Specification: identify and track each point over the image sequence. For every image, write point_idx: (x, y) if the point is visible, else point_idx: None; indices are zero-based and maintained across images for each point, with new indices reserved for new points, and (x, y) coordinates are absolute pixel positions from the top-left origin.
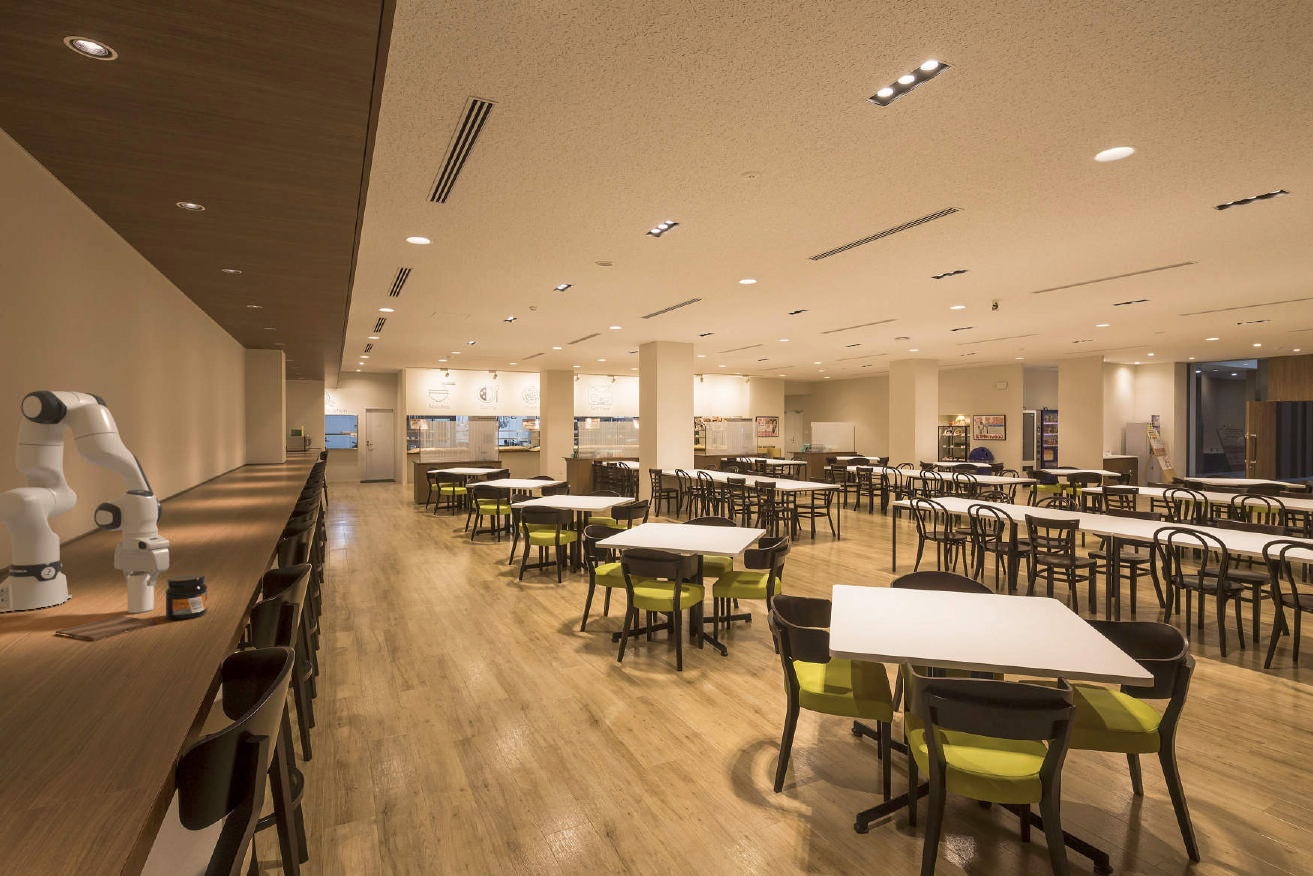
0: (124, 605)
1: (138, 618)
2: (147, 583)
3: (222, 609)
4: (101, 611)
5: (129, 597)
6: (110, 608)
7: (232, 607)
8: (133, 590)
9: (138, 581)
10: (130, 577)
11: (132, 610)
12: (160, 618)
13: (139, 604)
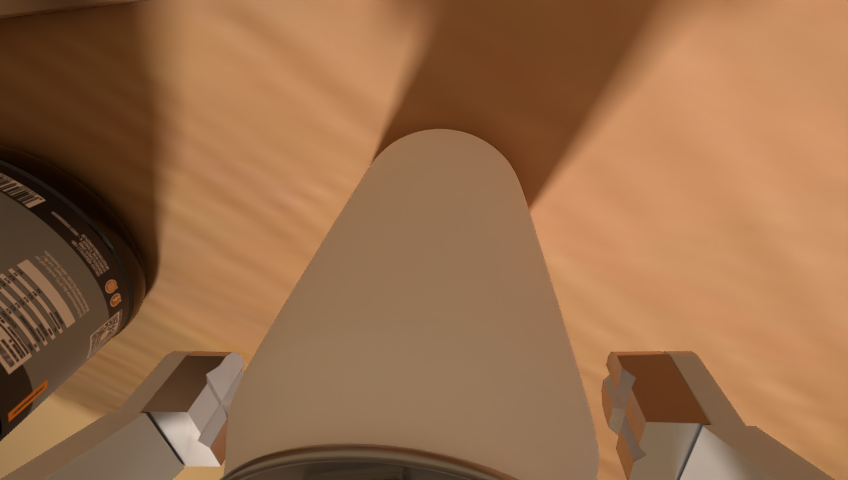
0: (738, 250)
1: (56, 4)
2: (203, 376)
3: (83, 368)
4: (782, 60)
5: (421, 176)
6: (784, 157)
7: (94, 397)
8: (347, 232)
9: (252, 358)
10: (392, 398)
11: (403, 139)
12: (91, 143)
13: (354, 190)
